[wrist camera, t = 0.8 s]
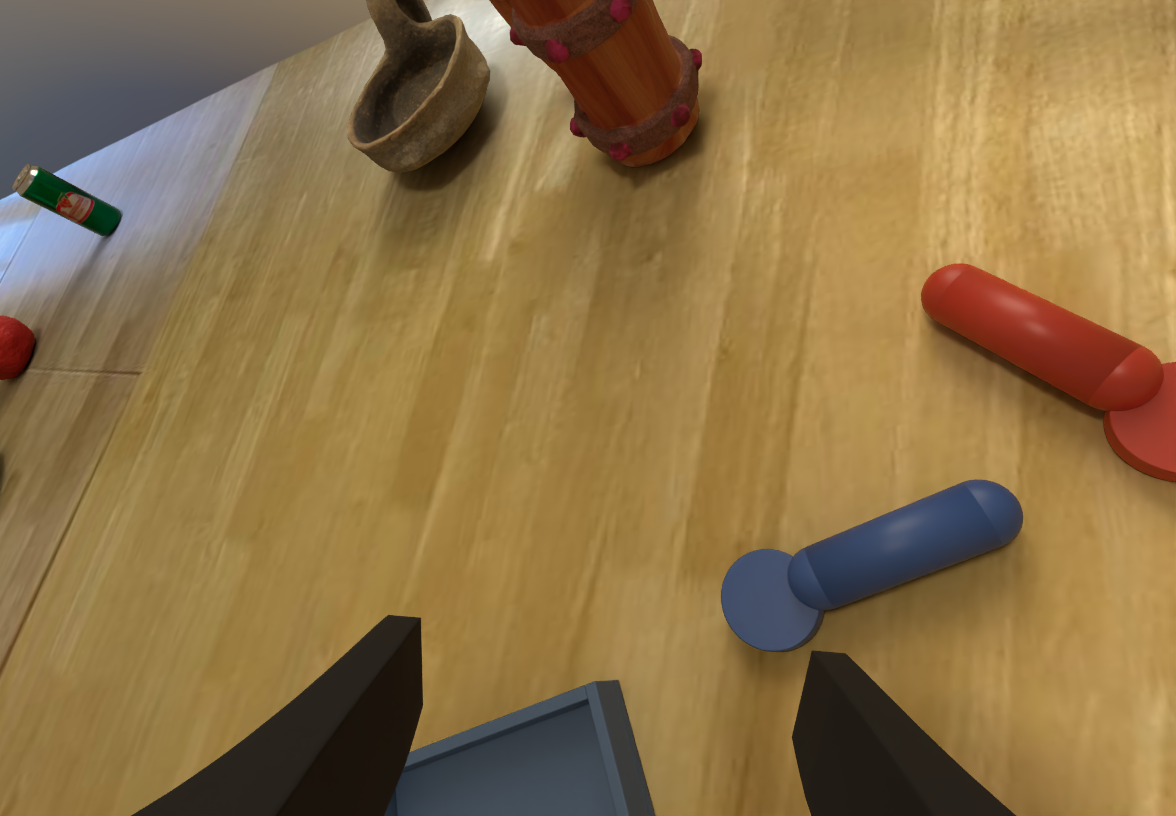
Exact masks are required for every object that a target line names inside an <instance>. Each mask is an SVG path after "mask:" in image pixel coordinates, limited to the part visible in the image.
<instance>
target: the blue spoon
mask: <svg viewBox="0 0 1176 816" xmlns="http://www.w3.org/2000/svg"><path fill="white" fill-rule="evenodd" d="M1022 523H1023V512H1022V508H1021V505H1020V503H1019V501H1018V500H1017V498H1016V497H1015V496H1014V495H1013V494H1012V493H1011V492H1010V491H1009V490H1008V489H1006V488H1005V487H1003V486H1001V485H1000V484H997V483H995V482H991V481H987V480H969V481H965V482H962V483H960V484H957V485H955V486H952V487H950V488H948V489H945V490H943V491H940V492H938V493H935V494H933V495H931V496H928V497H926V498H923V499H921V500H919V501H916V502H914V503H911V504H909V505H906V506H904V507H902V508H899V509H897V510H894V511H892V512H890V513H887V514H885V515H882V516H880V517H877V518H875V519H873V520H870V521H868V522H865V523H863V524H861V525H858V526H856V527H853V528H851V529H849V530H846V531H844V532H841V533H839V534H836V535H834V536H832V537H829V538H827V539H824V540H822V541H820V542H817V543H815V544H812V545H810V546H807V547H805V548H803V549H801V550H800V551H798V552H797V553H796V554H795V555H794V557H793V556H791V555H789V554H787V553H785V552H782V551H778V550H773V549H762V550H756V551H753V552H750V553H748V554H746V555H744V556H742V557H741V558H739V559H738V560H737V561H736V562H735V563H734V564H733V565H732V566H731V567H730V569H729V571H728V572H727V574H726V576H725V578H724V581H723V585H722V590H721V603H722V609H723V612H724V616H725V618H726V620H727V622H728V624H729V626H730V627H731V629H732V630H733V631H734V633H735V634H736V635H737V636H738V637H739V638H740V639H742V640H743V641H744V642H745V643H747V644H749V645H750V646H753V647H755V648H757V649H761V650H764V651H772V652H785V651H791V650H794V649H797V648H799V647H801V646H803V645H804V644H806V643H807V642H808V641H810V640H811V639H812V638H813V636H814V635H815V634H816V633H817V631H818V629H819V627H820V625H821V623H822V620H823V616H824V610H831V609H835V608H838V607H841V606H844V605H846V604H849V603H852V602H854V601H857V600H860V599H862V598H865V597H868V596H870V595H873V594H876V593H878V592H881V591H884V590H886V589H889V588H892V587H895V586H897V585H900V584H903V583H905V582H908V581H911V580H913V579H916V578H919V577H921V576H924V575H927V574H929V573H932V572H935V571H937V570H940V569H943V568H946V567H948V566H951V565H954V564H956V563H959V562H962V561H964V560H967V559H970V558H972V557H975V556H978V555H980V554H983V553H986V552H988V551H991V550H994V549H997V548H999V547H1002V546H1003V545H1006V544H1008V543H1009V542H1010V541H1012V540H1013V539H1014V538H1015V537H1016V536H1017V535H1018V533H1019V532H1020V529H1021V527H1022Z"/></svg>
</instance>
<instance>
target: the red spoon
mask: <svg viewBox="0 0 1176 816" xmlns="http://www.w3.org/2000/svg"><path fill="white" fill-rule="evenodd" d="M921 301H922V305H923V308H924V310H925V311H926V313H927V314H928V315H929V316H930V317H931V318H933V319H934V320H936V321H937V322H939V323H941V324H943V325H945V326H946V327H948V328H950V329H952V330H954V331H955V332H957V333H959V334H961V335H963V336H964V337H966V338H968V339H970V340H972V341H973V342H975V343H977V344H979V345H981V346H982V347H984V348H986V349H988V350H990V351H991V352H993V353H995V354H997V355H999V356H1000V357H1002V358H1004V359H1006V360H1008V361H1010V362H1011V363H1013V364H1015V365H1017V366H1019V367H1020V368H1022V369H1024V370H1026V371H1028V372H1029V373H1031V374H1033V375H1035V376H1037V377H1038V378H1040V379H1042V380H1044V381H1046V382H1047V383H1049V384H1051V385H1053V386H1055V387H1056V388H1058V389H1060V390H1062V391H1064V392H1065V393H1067V394H1069V395H1071V396H1073V397H1075V398H1076V399H1078V400H1080V401H1082V402H1084V403H1085V404H1087V405H1089V406H1091V407H1094V408H1096V409H1100V410H1104V411H1105V416H1104V430H1105V434H1106V437H1107V439H1108V441H1109V443H1110V445H1111V447H1112V448H1113V449H1114V451H1115V452H1116V453H1117V454H1118V455H1119V456H1120V457H1121V458H1122V459H1123V460H1124V461H1125V462H1127V463H1128V464H1129V465H1131V466H1132V467H1134V468H1135V469H1137V470H1139V471H1141V472H1143V473H1145V474H1148V475H1150V476H1153V477H1156V478H1159V479H1163V480H1167V481H1173V482H1176V362H1172V363H1165V364H1161V362H1160V360H1159V359H1158V358H1157V356H1156V355H1155V354H1154V353H1153V352H1152V351H1150V350H1149V349H1147V348H1145V347H1144V346H1142V345H1140V344H1138V343H1135V342H1133V341H1131V340H1129V339H1127V338H1125V337H1123V336H1121V335H1119V334H1116V333H1114V332H1112V331H1110V330H1108V329H1106V328H1104V327H1102V326H1099V325H1097V324H1095V323H1093V322H1091V321H1089V320H1087V319H1085V318H1083V317H1080V316H1078V315H1076V314H1074V313H1072V312H1070V311H1068V310H1066V309H1064V308H1061V307H1059V306H1057V305H1055V304H1053V303H1051V302H1049V301H1047V300H1045V299H1042V298H1040V297H1038V296H1036V295H1034V294H1032V293H1030V292H1028V291H1025V290H1023V289H1021V288H1019V287H1017V286H1015V285H1013V284H1011V283H1009V282H1006V281H1004V280H1002V279H1000V278H998V277H996V276H994V275H992V274H990V273H987V272H985V271H983V270H981V269H979V268H977V267H974V266H971V265H968V264H951V265H947V266H945V267H942V268H940V269H938V270H937V271H936V272H934V273H933V274H932V275H931V276H930V277H929V278H928V279H927V281H926V282H925V284H924V286H923V289H922V293H921Z"/></svg>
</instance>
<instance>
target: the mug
mask: <svg viewBox="0 0 1176 816" xmlns="http://www.w3.org/2000/svg"><path fill="white" fill-rule="evenodd" d="M490 2H491V3H492V4H493V6H494V7H495V8H496V10H497V11H498V12H499V13H500V15H501V16H502V17H503V18H504V19H505V21H506V22H507V23H508V24H509V25H510V27H511V30H510V40H511V41H512V42H513V43H514V44H515V45H522V46H527V48H528V49H529V50H530V51H531V52H532V53H533V54H534V55H535V56H537V57H538V58H540V59H542V60H543V61H544V62H545V63H546V64H547V65H548V66H549V67H550V68H551V69H553V70H554V71H555V72H557V74H558V75H559V76H560V77H561V79H562V80H563V82H564V83H565V85H566V86H567V88H568V89H569V91H570V92H571V94H572V96H573V97H574V99H575V100H574V103H575V114H574V118H572V119H571V122H570V130H571V132H572V133H573V135H575V136H578V137H587V138H588V139H589V141H590V142H591V143H592V145H593V146H595V147H596V148H598V149H599V150H601V151H602V152H604V153H606V154H609V155H610V156H611V157H612V159H613V160H616V161H619V162H620V163H621V164H623V165H626V166H630V167H640V166H644V165H647V164H652V163H654V162H657V161H659V160H661V159H664V158H665V157H667V156H669V155H670V154H671V153H672V152H674V151H675V150H676V149H677V148H678V147H679V146H681V145H682V144H683V143H684V142H685V140H686V138H687V136H688V135H689V134H690V133H691V131H692V130H693V128H694V126H695V125H696V123H697V121H698V117H699V111H700V110H699V105H698V98H697V95H698V85H699V84H698V70H699V69H700V67H701V65H702V54H701V52H700V51H699V50H697V49H690V50H689V49H688V48H687V47H686V46H685V44H684V43H683V42H682V41H680V40H679V39H677V38H675V37H673V36H670V35H668V33H667V31H666V29H665V27H664V25H663V23H662V21H661V19H660V17H659V14H658V12H657V10H656V7H655V5H654V2H653V0H490Z"/></svg>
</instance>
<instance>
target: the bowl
mask: <svg viewBox="0 0 1176 816" xmlns="http://www.w3.org/2000/svg"><path fill="white" fill-rule="evenodd" d="M366 1H367V6H368V10H369V12H370V15H371V17H372V19H373V21H374V23H375V24H376V26H377V29H378V31H379V33H380V34H381V36H382V38H383V40H384V44H385V49H386V50H385V53H384V55H383V57H382V59H381V60H380V62H379V64H378V66H377V67H376V69H375V71H374V72H373V74H372V76H371V77H370V79H369V80H368V82H367V83H366V85H365V87H364V89H363V92H362V93H361V95H360V97H359V99H358V101H357V103H356V104H355V106H354V108H353V110H352V113H351V116H350V119H349V123H348V128H347V135H348V139H349V141H350V143H351V144H352V145H353V147H355V148H357V149H358V150H360V151H361V152H363V153H365V154H366V155H367V156H368V157H369V158H370V159H371V160H373V161H374V162H375V163H376V164H378V165H379V166H380V167H382V168H384V169H386V170H388V171H392V172H408V171H412V170H414V169H418V168H420V167H422V166H424V165H425V164H427V163H429V162H430V161H432V160H433V159H435V158H436V157H438V156H439V155H441V154H443V153H444V152H445V151H446V150H448V149H449V148H450V147H451V146H452V145H453V144H454V143H455V142H456V141H457V140H458V139H459V138H460V137H461V136H462V135H463V134H464V133H465V132H466V130H467V129H468V128H469V126H470V125H471V123H472V122H473V120H474V119H475V117H476V115H477V113H478V111H479V109H480V107H481V104H482V102H483V99H484V96H485V93H486V90H487V86H488V83H489V81H490V70H489V67H488V66H487V62H486V60H485V58H484V56H483V54H482V53H481V51H480V50H479V49H478V47H477V46H476V45H475V44H474V42H473V41H472V40H471V39H470V38H469V37H468V35H467V33H466V30H465V27H464V24H463V22H462V20H461V19H460V17H457V16H454V15H451V14H450V15H445V16H444V17H440V18H437V19H435V20H433V21H432V19H431V16H430V14H429V11H428V9H427V7H426V5H425V3H424V1H423V0H366Z"/></svg>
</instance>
